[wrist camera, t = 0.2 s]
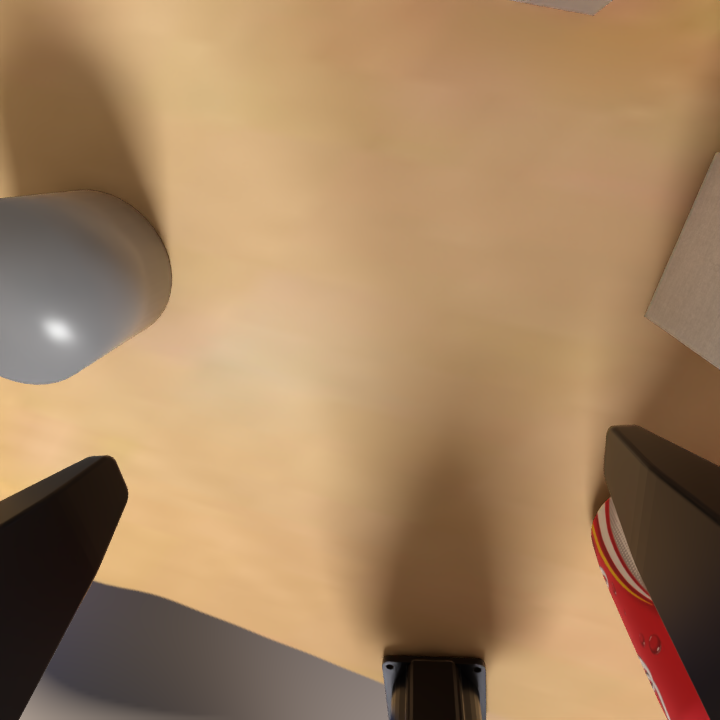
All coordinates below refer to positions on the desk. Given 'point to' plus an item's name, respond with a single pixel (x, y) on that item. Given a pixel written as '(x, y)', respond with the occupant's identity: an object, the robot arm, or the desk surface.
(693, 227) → the grey rectangular block
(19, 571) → the robot arm
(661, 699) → the soda can
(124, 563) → the desk surface
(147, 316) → the grey rounded lump
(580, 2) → the perfume bottle
